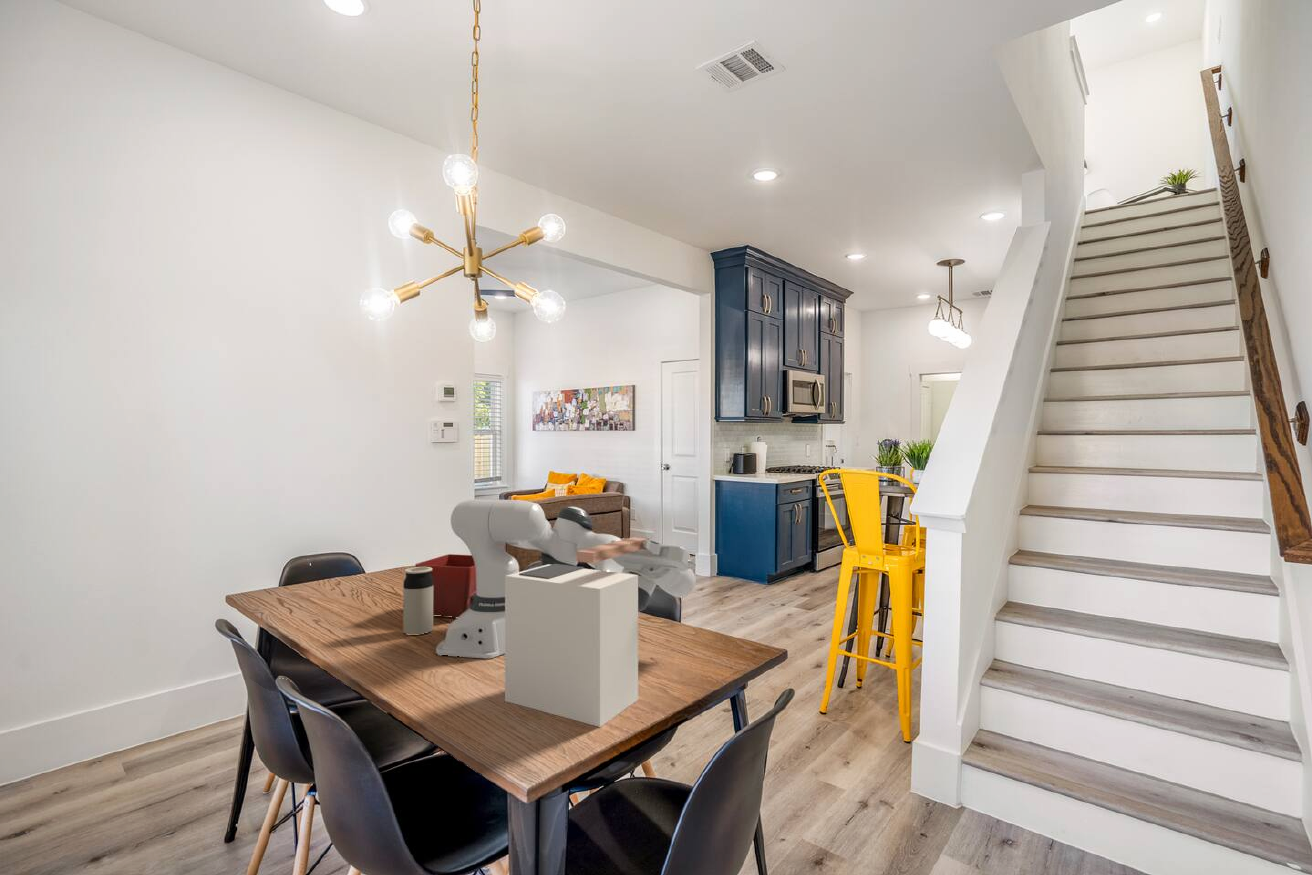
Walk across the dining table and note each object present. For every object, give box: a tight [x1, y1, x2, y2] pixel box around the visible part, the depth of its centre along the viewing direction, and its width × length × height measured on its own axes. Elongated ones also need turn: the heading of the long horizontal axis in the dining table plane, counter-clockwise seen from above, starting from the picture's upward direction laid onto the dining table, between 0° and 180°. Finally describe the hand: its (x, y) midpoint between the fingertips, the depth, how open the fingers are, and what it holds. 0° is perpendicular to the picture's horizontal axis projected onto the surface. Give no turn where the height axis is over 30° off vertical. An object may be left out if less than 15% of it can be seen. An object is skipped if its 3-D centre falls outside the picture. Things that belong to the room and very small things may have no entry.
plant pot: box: [415, 553, 476, 617], centre depth 191 cm, size 19×19×17 cm
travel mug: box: [402, 566, 434, 634], centre depth 171 cm, size 8×8×18 cm
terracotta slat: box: [577, 536, 650, 564], centre depth 128 cm, size 22×4×2 cm, turn 151°
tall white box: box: [504, 564, 639, 728], centre depth 125 cm, size 14×24×26 cm, turn 61°
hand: (633, 542), depth 134 cm, fingers closed on terracotta slat, 4 cm apart
